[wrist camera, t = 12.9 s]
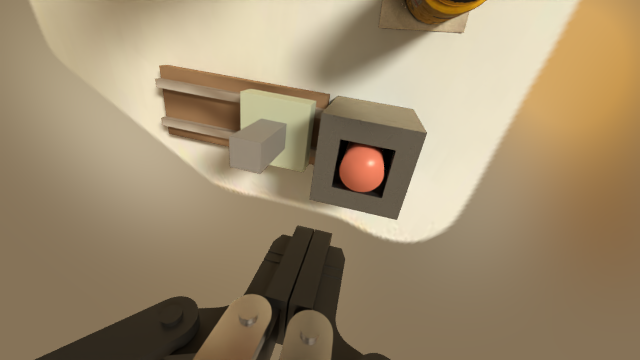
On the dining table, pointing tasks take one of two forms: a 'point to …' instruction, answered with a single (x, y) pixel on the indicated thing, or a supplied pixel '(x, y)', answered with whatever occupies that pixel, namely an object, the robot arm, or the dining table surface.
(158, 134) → the dining table surface
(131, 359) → the robot arm
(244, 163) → the carriage
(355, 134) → the cabinet
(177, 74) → the rail track
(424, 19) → the condiment
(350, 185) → the plunger
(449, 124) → the dining table surface
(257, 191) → the dining table surface
